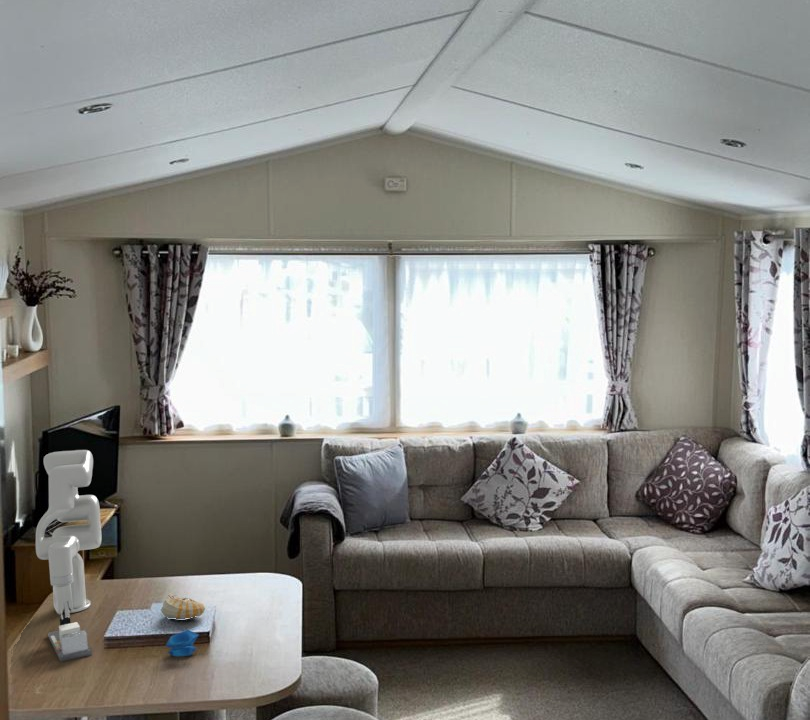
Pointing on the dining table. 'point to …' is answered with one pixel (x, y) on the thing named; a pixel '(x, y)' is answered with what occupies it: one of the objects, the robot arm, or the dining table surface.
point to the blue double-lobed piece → (182, 643)
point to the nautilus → (181, 608)
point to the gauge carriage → (68, 629)
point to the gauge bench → (71, 656)
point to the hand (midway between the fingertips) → (65, 628)
